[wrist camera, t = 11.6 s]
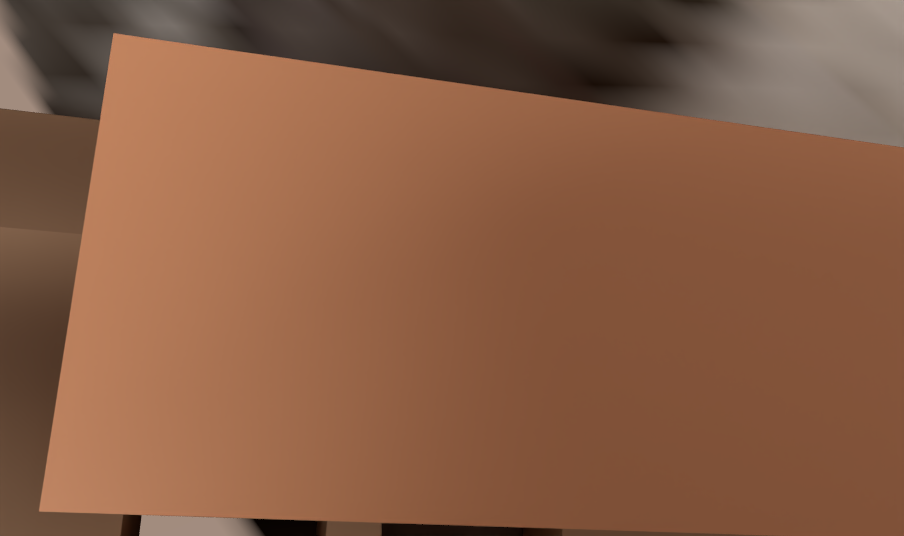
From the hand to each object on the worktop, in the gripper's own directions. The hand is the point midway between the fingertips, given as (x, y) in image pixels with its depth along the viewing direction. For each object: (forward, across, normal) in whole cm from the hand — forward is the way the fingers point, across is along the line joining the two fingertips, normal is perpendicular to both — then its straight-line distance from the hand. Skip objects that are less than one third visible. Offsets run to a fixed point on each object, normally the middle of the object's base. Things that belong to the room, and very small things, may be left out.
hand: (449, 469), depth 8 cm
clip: (+8, 0, +6) cm, 10 cm away
